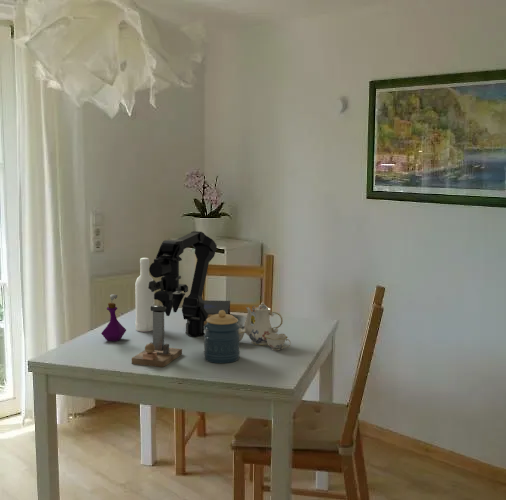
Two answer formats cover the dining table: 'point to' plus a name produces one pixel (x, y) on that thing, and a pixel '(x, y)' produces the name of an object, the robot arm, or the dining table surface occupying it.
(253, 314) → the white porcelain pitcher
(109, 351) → the dining table surface
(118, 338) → the perfume bottle
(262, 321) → the chinaware
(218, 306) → the book
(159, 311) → the lever
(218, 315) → the canister
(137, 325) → the bottle
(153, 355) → the board
